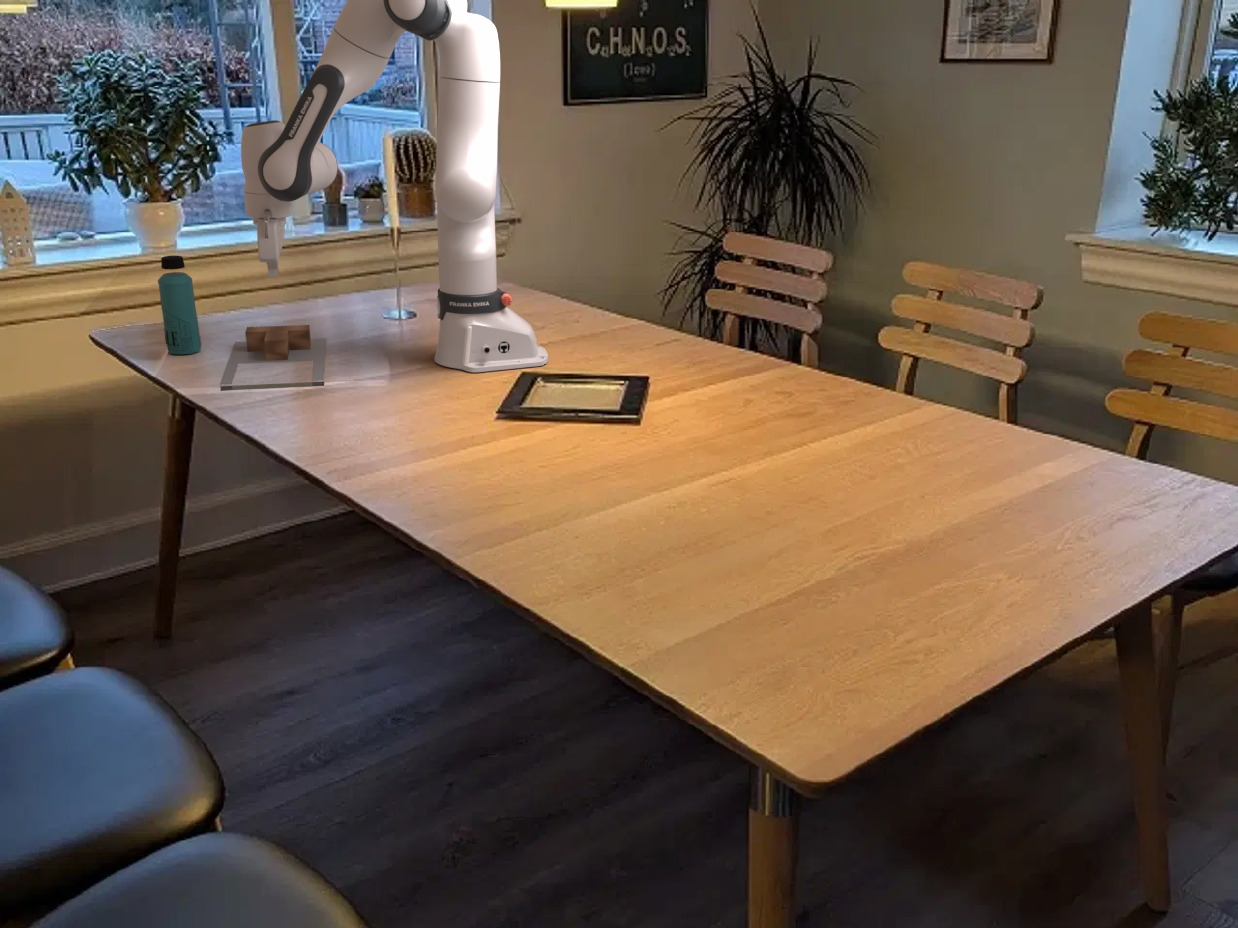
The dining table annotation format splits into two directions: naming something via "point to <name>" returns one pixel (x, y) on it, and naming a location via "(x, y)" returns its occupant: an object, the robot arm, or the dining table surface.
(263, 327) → the t block
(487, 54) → the robot arm
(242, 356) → the board
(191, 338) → the beverage bottle
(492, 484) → the dining table surface
